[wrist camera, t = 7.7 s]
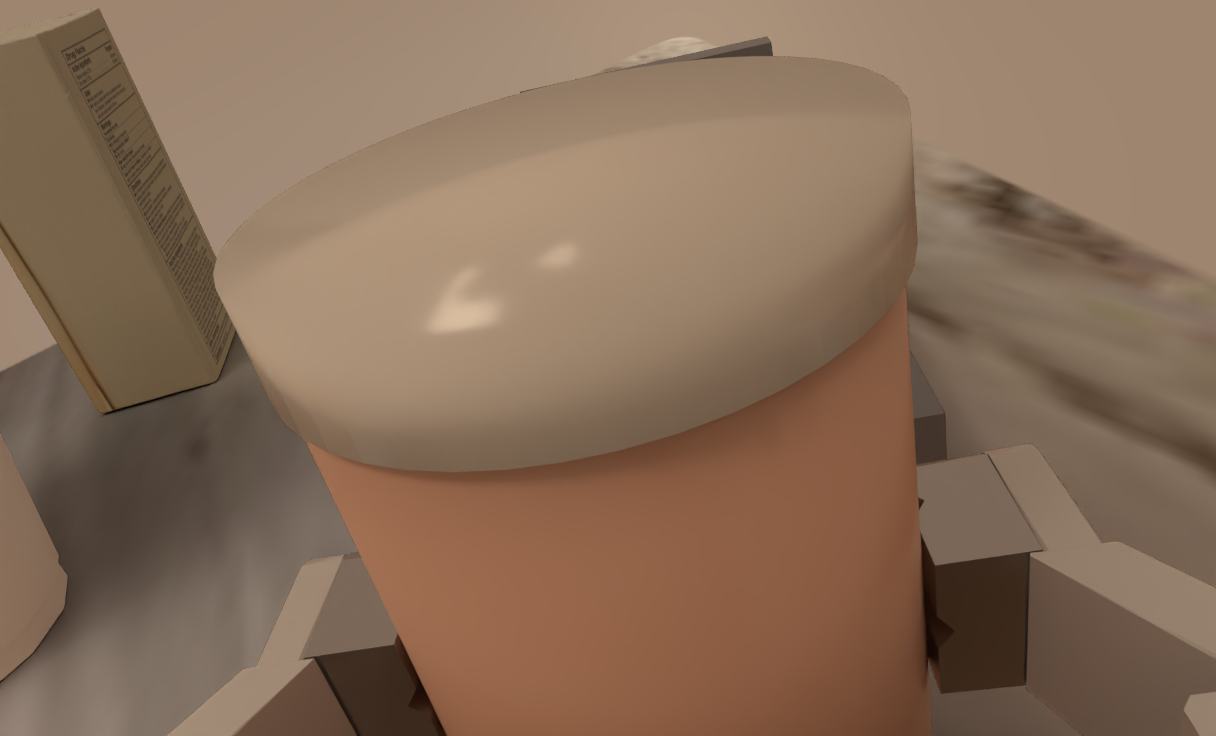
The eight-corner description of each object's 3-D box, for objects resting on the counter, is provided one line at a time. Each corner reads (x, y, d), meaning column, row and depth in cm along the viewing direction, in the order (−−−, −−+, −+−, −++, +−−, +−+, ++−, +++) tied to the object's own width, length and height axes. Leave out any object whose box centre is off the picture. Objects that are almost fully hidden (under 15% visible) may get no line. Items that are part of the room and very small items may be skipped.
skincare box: (141, 342, 36) (-28, 37, 30) (249, 311, 37) (102, 3, 31) (97, 421, 31) (-120, 68, 25) (223, 383, 31) (39, 26, 25)
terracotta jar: (546, 1167, 11) (63, 402, 5) (570, 761, 15) (331, 134, 10) (1017, 1135, 10) (1039, 215, 4) (893, 720, 15) (828, 22, 9)
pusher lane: (947, 490, 19) (939, 279, 16) (474, 565, 20) (400, 379, 18) (781, 154, 39) (766, 36, 36) (549, 202, 40) (520, 91, 38)
